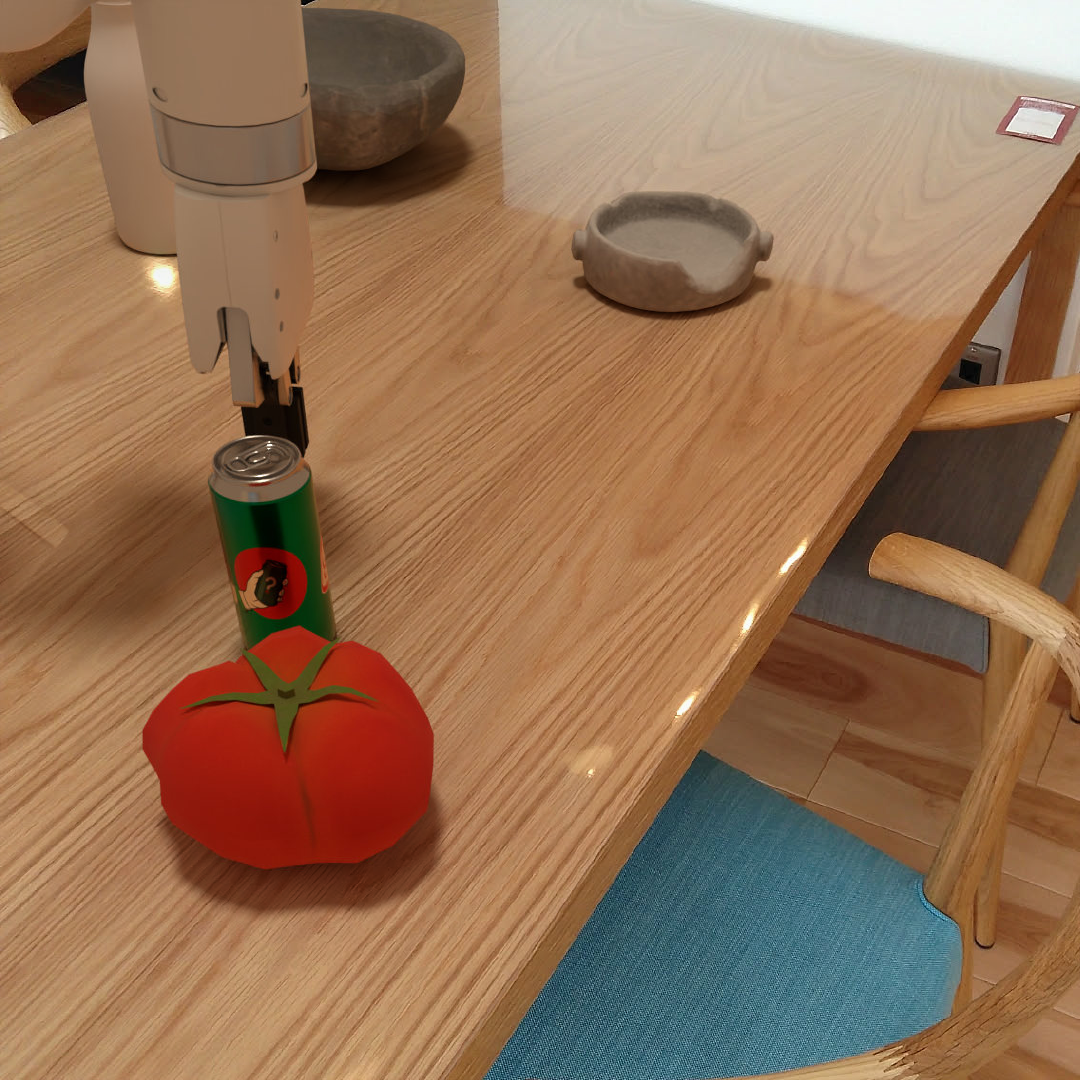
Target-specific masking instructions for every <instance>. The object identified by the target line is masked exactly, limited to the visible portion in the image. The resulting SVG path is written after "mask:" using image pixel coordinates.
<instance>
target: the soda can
mask: <svg viewBox="0 0 1080 1080" xmlns="http://www.w3.org/2000/svg"><path fill="white" fill-rule="evenodd" d="M207 485H208V491H209V494H210V498H211V499H210V500H211V503H212V507H213V512H214V517H215V521H216V526H217V529H218V536H219V540H220V544H221V547H222V554H223V558H224V562H225V566H226V567H225V568H226V571H227V576H228V580H229V584H230V590H231V593H232V599H233V603H234V608H235V611H236V616H237V621H238V625H239V630H240V634H241V635H240V636H241V639H242V642H243V645H244V646H245V648H246V649H247V651H248V650H250V649H251V648H253V647H254V646H255V645H257V644H258V643H260V642H261V641H262V640H264V639H265V638H266V637H268V636H269V635H271V634H272V633H275V632H279V631H282V630H286V629H289V628H293V627H296V626H301V627H303V628H304V629H306V630H308V631H310V632H312V633H314V634H316V635H318V636H320V637H322V638H324V639H326V640H328V641H330V642H332V641H334V638H335V636H336V632H337V624H336V617H335V610H334V605H333V599H332V592H331V586H330V579H329V572H328V567H327V560H326V554H325V549H324V548H325V547H324V542H323V537H322V536H323V535H322V529H321V523H320V516H319V510H318V504H317V497H316V491H315V484H314V478H313V472H312V469H311V466H310V464H309V463H308V462H307V460H305V459H304V458H302V456H301V452H300V450H299V449H298V447H297V446H296V445H295V444H293V443H292V442H291V441H288V440H286V439H284V438H281V437H276V436H270V435H253V436H246V437H245V436H243V437H239V438H234V439H232V440H230V441H228V442H227V443H224V444H223V445H222V446H220V447H218V449H217V450H215V452H214V453H213V455H212V458H211V469H210V471H209V473H208V476H207Z"/></svg>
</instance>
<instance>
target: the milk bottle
mask: <svg viewBox="0 0 1080 1080" xmlns="http://www.w3.org/2000/svg"><path fill="white" fill-rule="evenodd" d="M89 7H90V14H91V20H90V24H91V25H90V34H89V38H88V39H89V40H88V43H87V49H86V53H85V60H84V66H83V67H84V68H83V84H84V90H85V91H84V92H85V97H86V103H87V107H88V112H89V117H90V122H91V126H92V131H93V135H94V139H95V143H96V144H95V145H96V149H97V152H98V157H99V162H100V165H101V169H102V173H103V177H104V183H105V186H106V190H107V194H108V199H109V203H110V208H111V211H112V215H113V219H114V224H115V227H116V231H117V234H118V236H119V238H120V239H121V241H122V242H123V243H124V244H125V245H126V246H127V247H129V248H131V249H133V250H135V251H138V252H141V253H147V254H152V255H153V254H155V255H173V254H174V255H177V250H176V238H175V221H174V187H175V183H174V182H172V181H171V180H170V179H168V178H167V177H166V176H165V175H164V174H163V172H162V170H161V167H160V161H159V155H158V150H157V144H156V139H155V133H154V128H153V122H152V116H151V111H150V105H149V100H148V99H149V97H148V93H147V88H146V82H145V77H144V71H143V66H142V60H141V54H140V49H139V43H138V38H137V32H136V27H135V21H134V16H133V10H132V5H131V0H101V1H99V2H96V3H94V4H92V5H90V6H89Z"/></svg>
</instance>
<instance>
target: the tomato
mask: <svg viewBox="0 0 1080 1080" xmlns="http://www.w3.org/2000/svg"><path fill="white" fill-rule="evenodd" d="M342 637H343V635H340V636H339V637H337V638H336V639H333V640H332V641H331V642H330V641H328V640H326V639H324V638H322V637H320V636H318V635H316V634H314V633H312V632H310V631H308V630H306V629H304V628H303V627H301V626H296V627H293V628H289V629H286V630H282V631H279V632H275V633H272V634H271V635H269V636H268V637H266V638H265V639H264V640H262V641H261V642H260V643H258V644H257V645H255V646H254V647H253V648H251V649H250V650H248V649H247V650H246V649H243V648H240V649H239V650H240V651H241V653H242V655H240V656H239V657H238V659H236V660H235V662H234V661H231V660H226V661H224V662H222V663H219V664H216V665H212V666H209V667H206V668H203V669H200V670H197V671H194V672H192V673H188V675H186V676H185V677H184V678H183V679H182V680H181V681H179V682H178V683H177V684H176V685H175V686H174V687H173V688H171V690H170V691H169V692H168V693H166V695H165V696H164V697H163V699H162V700H161V701H160V702H159V703H158V704H157V705H156V707H154V709H152V712H151V714H149V715H150V716H149V717H148V719H147V721H146V723H145V724H144V727H143V728H142V731H141V732H142V733H141V734H142V735H141V736H142V737H141V738H142V739H141V740H142V742H141V743H142V744H141V745H142V746H141V747H142V751H143V753H144V755H145V757H146V758H147V760H148V761H149V764H150V765H151V767H152V768H153V770H154V772H155V775H156V777H157V778H158V780H159V792H160V793H159V794H160V805H161V807H162V808H163V810H164V812H165V814H166V816H167V817H168V819H169V821H170V822H171V825H174V826H175V827H176V828H178V829H179V830H180V831H182V832H183V833H185V834H186V835H187V836H189V837H191V838H192V839H193V840H195V841H196V842H198V843H200V845H202V846H204V847H206V848H207V849H209V850H211V851H212V852H213V853H215V854H216V855H217V856H220V857H221V858H223V859H226V860H230V861H234V862H237V863H240V864H244V865H248V866H251V867H255V868H258V869H261V870H270V869H277V868H284V867H294V866H305V865H312V864H359V863H360V862H363V861H364V860H367V859H369V858H371V857H373V856H375V855H376V854H379V853H382V852H383V851H386V850H388V849H390V848H391V847H393V846H395V845H396V844H397V843H398V842H399V841H400V840H401V839H402V837H403V836H404V835H405V834H407V832H408V831H409V830H410V829H411V828H412V827H413V826H414V825H415V824H416V823H417V822H418V821H419V820H420V819H421V818H422V817H423V816H424V815H425V814H426V812H427V811H428V808H429V803H430V796H431V790H432V789H431V787H432V780H433V771H434V761H435V760H434V756H435V754H434V752H435V734H434V731H433V728H432V725H431V722H430V719H429V717H428V716H427V713H426V712H425V710H424V708H423V706H422V704H421V703H420V701H419V700H418V698H417V696H416V693H415V692H414V691H413V689H412V687H411V686H410V685H409V684H408V682H407V681H406V680H405V679H404V678H403V676H402V675H401V674H400V673H399V672H398V671H397V670H396V669H395V667H394V666H393V665H392V664H391V662H390V661H389V660H388V659H387V658H386V657H385V656H384V655H383V654H382V653H381V652H379V651H377V650H374V649H372V648H370V647H368V646H365V645H363V644H362V643H360V642H357V641H355V640H347V641H341V642H339V641H340V640H341V638H342Z"/></svg>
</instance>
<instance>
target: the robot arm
mask: <svg viewBox="0 0 1080 1080" xmlns="http://www.w3.org/2000/svg"><path fill="white" fill-rule="evenodd" d="M99 1H101V0H0V53H7V54H10V53H11V54H12V53H18V52H19V53H20V52H25V51H29V50H32V49H35V48H37V47H40V46H43V45H44V44H46V43H48V42H49V41H51V40H52V39H54V38H55V37H56V36H58V35H59V34H60V33H61V32H63V31H64V30H65V29H66V28H68V27H69V26H70V24H72V23H73V22H74V21H75V20H76V19H78V18H79V17H80V15H81V14H83V13H84V12H85V11H86V10H87V9H88V8H89V7H91V6H90V5H92V4H94V3H96V2H99ZM131 5H132V10H133V16H134V21H135V27H136V32H137V38H138V43H139V49H140V54H141V60H142V66H143V71H144V77H145V82H146V88H147V93H148V97H149V99H148V100H149V105H150V111H151V116H152V122H153V128H154V133H155V139H156V144H157V150H158V155H159V161H160V167H161V170H162V172H163V174H164V175H165V176H166V177H167V178H168V179H170V180H171V181H172V182H174V183H175V187H174V221H175V238H176V250H177V254H176V259H177V270H178V279H179V286H180V294H181V302H182V311H183V318H184V327H185V334H186V340H187V347H188V355H189V360H190V364H191V367H192V368H193V370H194V371H195V372H196V373H198V374H200V375H205V374H207V373H208V374H212V373H213V372H214V370H215V367H216V365H217V363H218V361H219V359H220V357H221V354H222V353H223V350H224V348H225V346H226V347H227V352H228V364H229V375H230V387H231V388H230V389H231V399H232V404H233V406H234V407H240V411H241V417H242V423H243V430H244V437H246V436H253V435H270V436H276V437H281V438H284V439H286V440H288V441H291V442H292V443H293V444H295V445H296V446H297V447H298V449H299V450H300V452H301V456H302V458H303V459H304V458H305V456H306V450H307V449H308V447H309V444H310V437H309V427H308V419H307V411H306V404H305V396H304V395H305V394H304V387H303V386H299V385H300V383H301V376H302V373H301V372H302V371H301V358H300V346H299V345H300V343H301V341H302V337H303V335H304V332H305V329H306V327H307V324H308V322H309V319H310V316H311V314H312V310H313V306H314V302H315V301H314V300H315V271H314V259H313V258H314V257H313V249H312V241H311V232H310V225H309V216H308V210H307V209H308V208H307V204H306V203H307V202H306V196H305V189H304V183H306V182H309V180H311V179H312V178H313V177H314V176H315V174H316V172H317V170H318V169H317V160H316V149H315V139H314V129H313V119H312V108H311V100H310V92H309V81H308V71H307V60H306V50H305V39H304V28H303V18H302V8H303V7H302V0H131ZM293 385H295V386H293ZM296 385H298V386H296Z"/></svg>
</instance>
